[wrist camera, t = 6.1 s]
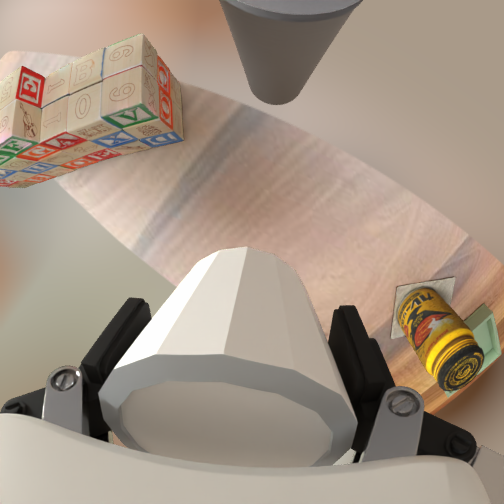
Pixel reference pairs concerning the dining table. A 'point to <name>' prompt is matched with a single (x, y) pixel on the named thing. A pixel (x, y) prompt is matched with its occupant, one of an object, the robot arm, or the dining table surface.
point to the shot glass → (233, 372)
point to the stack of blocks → (86, 112)
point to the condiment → (437, 333)
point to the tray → (484, 336)
